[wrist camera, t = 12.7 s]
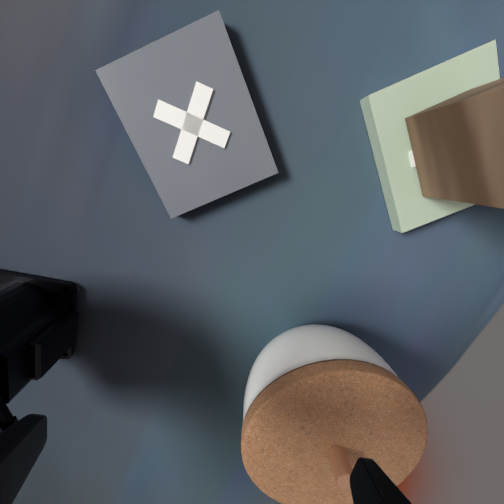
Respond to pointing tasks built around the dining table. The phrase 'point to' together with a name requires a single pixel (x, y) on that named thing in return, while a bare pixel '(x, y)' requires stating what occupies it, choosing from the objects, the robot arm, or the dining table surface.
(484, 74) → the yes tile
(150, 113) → the tile
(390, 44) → the dining table surface
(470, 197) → the walnut block
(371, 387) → the lidded jar
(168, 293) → the dining table surface
